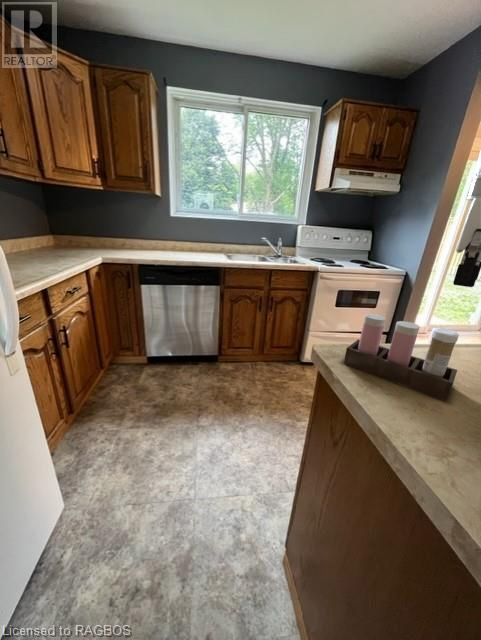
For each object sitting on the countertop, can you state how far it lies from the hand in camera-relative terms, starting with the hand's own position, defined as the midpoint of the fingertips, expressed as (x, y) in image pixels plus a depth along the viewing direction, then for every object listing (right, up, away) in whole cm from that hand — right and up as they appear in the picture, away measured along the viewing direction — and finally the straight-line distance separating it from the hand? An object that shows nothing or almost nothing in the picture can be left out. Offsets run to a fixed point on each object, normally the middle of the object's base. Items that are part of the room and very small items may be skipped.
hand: (465, 282), depth 56 cm
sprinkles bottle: (-2, -23, +8) cm, 25 cm away
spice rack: (-7, -22, +13) cm, 26 cm away
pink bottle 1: (-13, -19, +18) cm, 29 cm away
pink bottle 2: (-7, -21, +13) cm, 26 cm away
